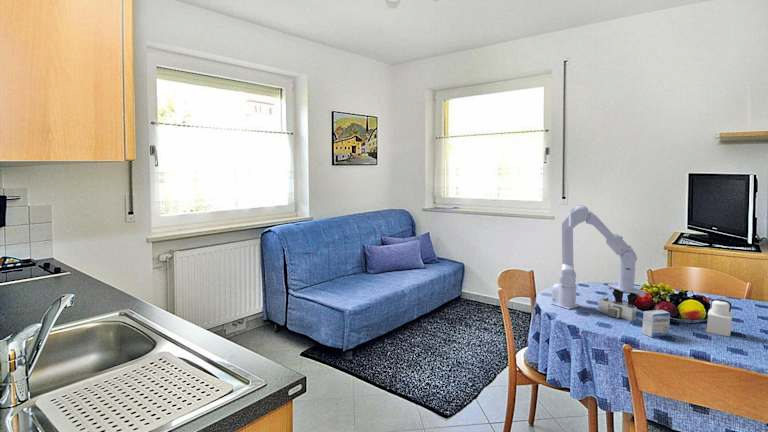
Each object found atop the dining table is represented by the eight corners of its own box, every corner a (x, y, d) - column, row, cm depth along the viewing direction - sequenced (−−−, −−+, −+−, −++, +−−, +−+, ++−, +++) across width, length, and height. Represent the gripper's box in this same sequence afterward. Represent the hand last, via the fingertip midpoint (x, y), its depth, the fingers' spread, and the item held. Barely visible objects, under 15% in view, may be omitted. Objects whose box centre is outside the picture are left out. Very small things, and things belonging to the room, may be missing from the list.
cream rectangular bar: (615, 318, 184) (616, 310, 183) (606, 316, 187) (607, 307, 186) (633, 311, 192) (634, 303, 192) (625, 309, 195) (625, 301, 194)
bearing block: (598, 311, 193) (599, 297, 192) (602, 309, 194) (603, 296, 194) (631, 321, 181) (632, 306, 180) (635, 319, 183) (636, 305, 182)
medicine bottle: (707, 326, 175) (710, 296, 173) (730, 331, 171) (734, 300, 169) (705, 332, 170) (708, 301, 168) (729, 337, 165) (733, 305, 163)
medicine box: (651, 337, 164) (653, 314, 163) (641, 333, 169) (643, 310, 168) (668, 335, 167) (670, 312, 165) (658, 331, 171) (660, 308, 170)
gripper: (604, 275, 193) (602, 306, 194) (640, 283, 181) (637, 316, 183) (613, 272, 197) (611, 303, 198) (648, 280, 185) (646, 312, 187)
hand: (624, 309), depth 191 cm, fingers closed on cream rectangular bar, 4 cm apart
